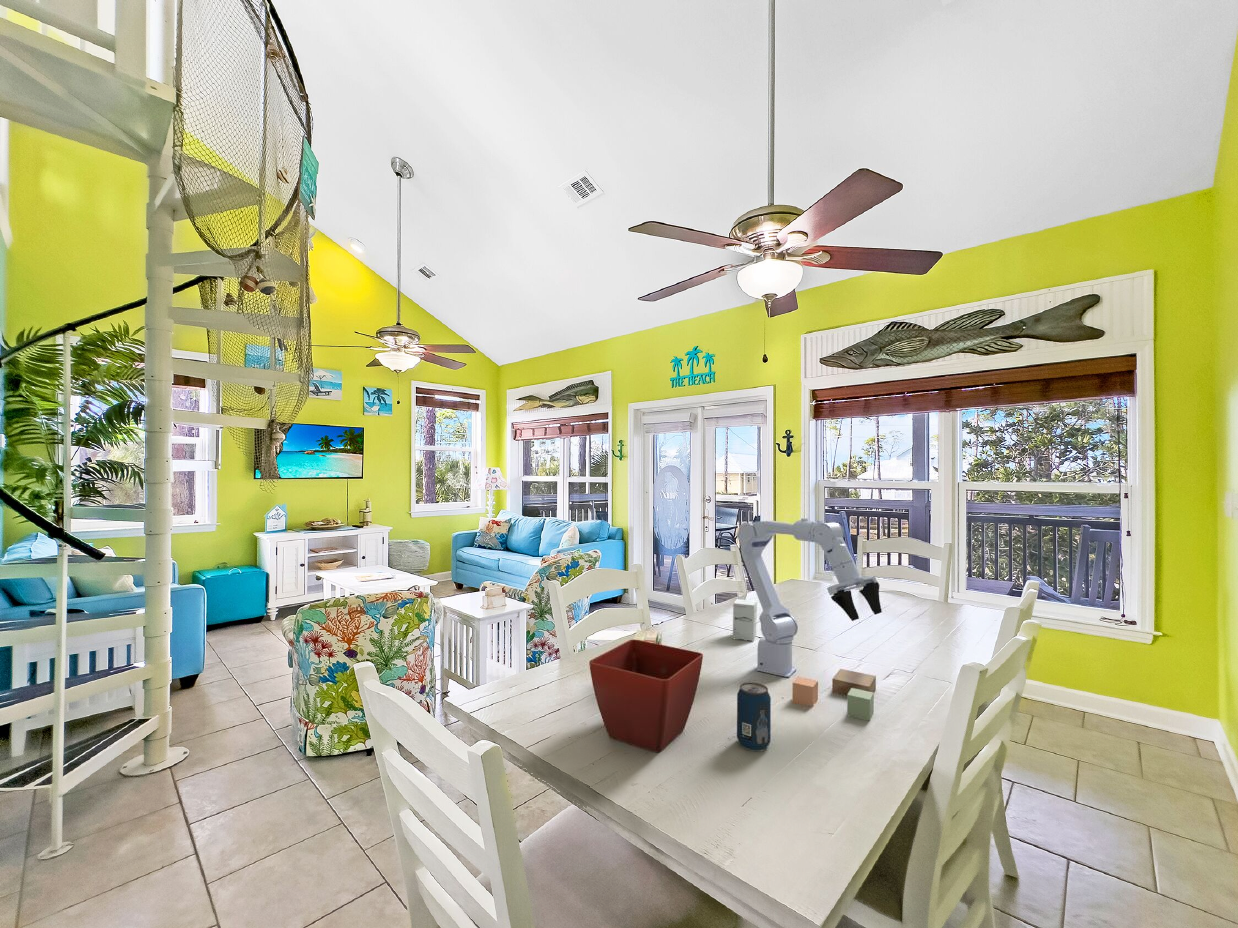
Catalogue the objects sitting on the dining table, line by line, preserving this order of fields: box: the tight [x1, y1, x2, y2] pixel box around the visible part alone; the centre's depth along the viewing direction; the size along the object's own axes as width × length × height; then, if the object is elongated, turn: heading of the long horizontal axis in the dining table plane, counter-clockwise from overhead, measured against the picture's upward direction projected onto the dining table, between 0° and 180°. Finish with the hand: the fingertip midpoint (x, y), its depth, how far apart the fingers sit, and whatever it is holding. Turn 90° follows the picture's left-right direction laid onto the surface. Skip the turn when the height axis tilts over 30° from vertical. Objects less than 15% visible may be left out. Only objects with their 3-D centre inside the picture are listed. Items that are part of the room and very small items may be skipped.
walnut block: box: [831, 668, 877, 697], centre depth 144 cm, size 9×9×4 cm
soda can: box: [736, 682, 772, 752], centre depth 115 cm, size 7×7×12 cm
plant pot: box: [588, 638, 704, 753], centre depth 120 cm, size 19×19×17 cm
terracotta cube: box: [791, 676, 819, 708], centre depth 138 cm, size 5×5×5 cm
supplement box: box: [732, 598, 758, 642], centre depth 191 cm, size 7×7×13 cm
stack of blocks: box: [632, 629, 663, 645], centre depth 155 cm, size 21×6×12 cm, turn 169°
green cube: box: [846, 688, 875, 721], centre depth 131 cm, size 5×5×5 cm
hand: (867, 616), depth 136 cm, fingers open, 7 cm apart
